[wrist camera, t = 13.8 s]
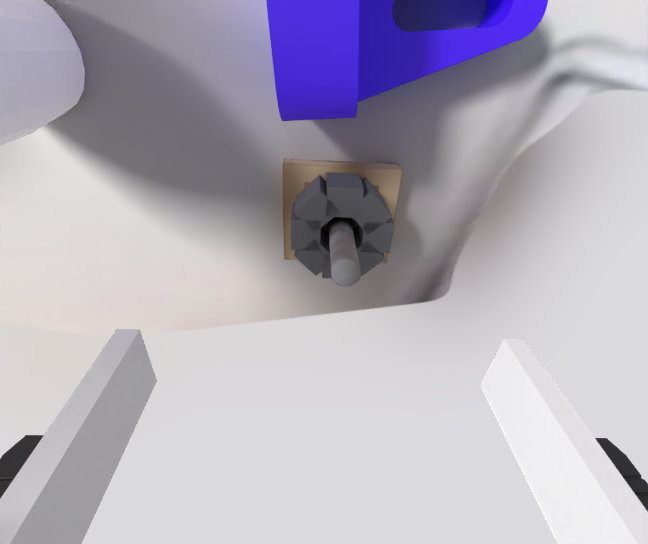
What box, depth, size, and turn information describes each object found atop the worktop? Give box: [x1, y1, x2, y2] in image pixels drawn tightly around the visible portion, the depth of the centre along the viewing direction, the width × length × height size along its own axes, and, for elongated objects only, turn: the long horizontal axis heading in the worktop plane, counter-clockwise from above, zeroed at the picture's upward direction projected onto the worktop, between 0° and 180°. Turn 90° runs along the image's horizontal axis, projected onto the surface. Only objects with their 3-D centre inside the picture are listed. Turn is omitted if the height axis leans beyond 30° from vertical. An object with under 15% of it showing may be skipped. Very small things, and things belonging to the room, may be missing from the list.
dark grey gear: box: [291, 172, 394, 278], centre depth 32 cm, size 9×9×4 cm
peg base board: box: [283, 159, 403, 286], centre depth 30 cm, size 11×10×12 cm
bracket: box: [267, 0, 548, 121], centre depth 22 cm, size 18×11×12 cm, turn 92°
